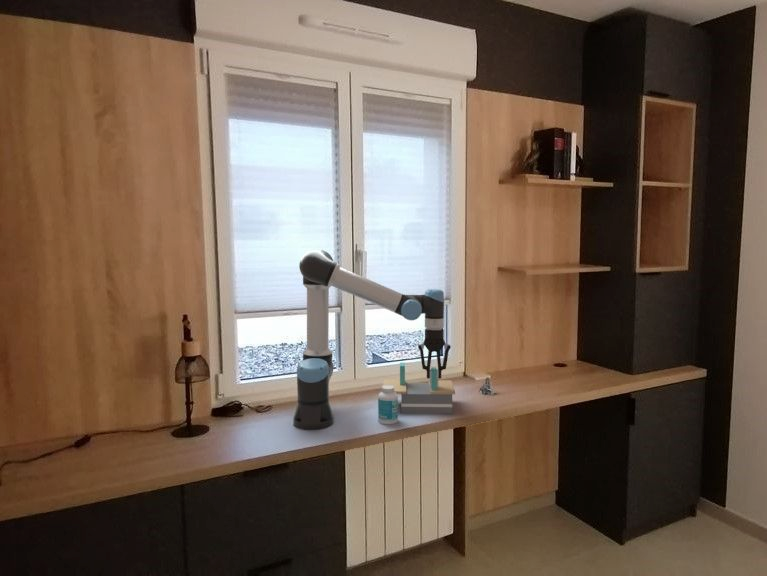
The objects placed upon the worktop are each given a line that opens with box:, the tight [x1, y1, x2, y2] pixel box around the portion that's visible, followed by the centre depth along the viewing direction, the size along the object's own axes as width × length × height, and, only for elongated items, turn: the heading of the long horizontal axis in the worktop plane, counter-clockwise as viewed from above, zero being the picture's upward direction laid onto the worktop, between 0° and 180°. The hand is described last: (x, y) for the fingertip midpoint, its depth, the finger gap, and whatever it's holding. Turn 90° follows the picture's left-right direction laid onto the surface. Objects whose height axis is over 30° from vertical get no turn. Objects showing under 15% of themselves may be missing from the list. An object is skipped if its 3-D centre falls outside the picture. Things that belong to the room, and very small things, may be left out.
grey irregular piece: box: [478, 376, 497, 396], centre depth 225 cm, size 9×9×8 cm
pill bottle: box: [377, 385, 399, 426], centre depth 191 cm, size 8×7×14 cm
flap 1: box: [382, 362, 407, 395], centre depth 207 cm, size 10×16×9 cm, turn 178°
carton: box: [400, 382, 453, 415], centre depth 208 cm, size 20×16×8 cm
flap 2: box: [429, 366, 456, 395], centre depth 207 cm, size 10×16×9 cm, turn 178°
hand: (433, 386), depth 203 cm, fingers closed on flap 2, 2 cm apart
